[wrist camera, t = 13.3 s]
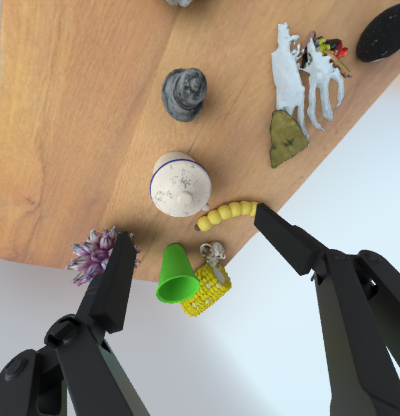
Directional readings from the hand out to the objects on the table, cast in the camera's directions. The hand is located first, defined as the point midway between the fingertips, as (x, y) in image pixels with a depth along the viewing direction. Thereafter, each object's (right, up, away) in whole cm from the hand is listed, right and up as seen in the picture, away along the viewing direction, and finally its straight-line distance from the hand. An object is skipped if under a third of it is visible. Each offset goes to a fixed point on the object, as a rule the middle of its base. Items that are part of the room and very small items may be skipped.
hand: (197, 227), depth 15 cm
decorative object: (+17, +21, +13) cm, 30 cm away
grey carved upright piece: (-3, +19, +8) cm, 21 cm away
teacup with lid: (-4, +8, +15) cm, 17 cm away
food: (-3, -18, +25) cm, 31 cm away
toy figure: (+17, +24, +6) cm, 30 cm away
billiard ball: (+29, +31, +10) cm, 43 cm away
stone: (+15, +16, +16) cm, 27 cm away
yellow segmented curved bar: (+8, +2, +22) cm, 23 cm away
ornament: (+3, -11, +26) cm, 29 cm away
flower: (-19, -5, +18) cm, 26 cm away
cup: (-7, -9, +24) cm, 27 cm away
